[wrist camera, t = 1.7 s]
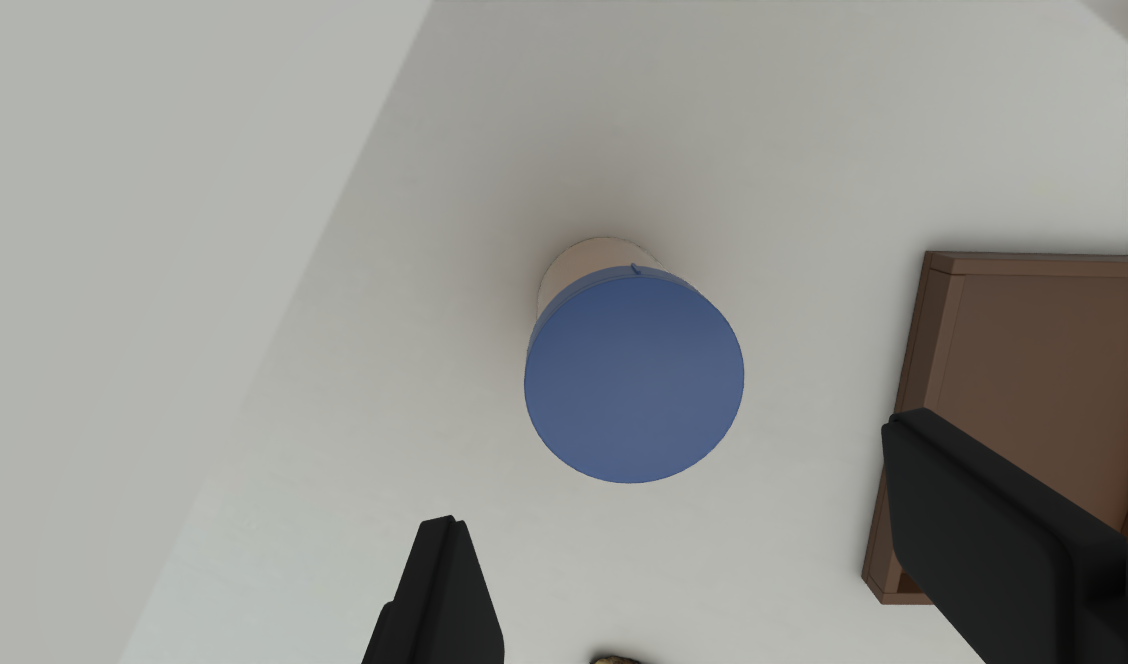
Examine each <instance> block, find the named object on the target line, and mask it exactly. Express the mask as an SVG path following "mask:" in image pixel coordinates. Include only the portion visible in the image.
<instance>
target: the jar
mask: <svg viewBox="0 0 1128 664" xmlns="http://www.w3.org/2000/svg"><path fill="white" fill-rule="evenodd" d="M631 263H635V264H636V266H646V267H650V268H655V269H660V270H662V271H665V272H668V271H667V270H666V269H665V268H664V267H663V266H662V265H661V264H659V263H658V262H657V261H656V260H655V259H654V258H653V257H652V256H651V255H650V254H649V253H648V252H647V251H645V250H644V249H643V248H641V247H640V246H638V245H636V244H634V243H632V242H629V241H626V240H623V239H618V238H610V237H601V238H593V239H588V240H585V241H582V242H580V243H577V244H575V245H573V246H571V247H570V248H568V249H567V250H565V251H564V252H563V253H562V254H560V255H559V256H558V257H557V258H556V259H555V260H554V261H553V263H552V264H551V265H550V267H549V268H548V270H547V271H546V273H545V275H544V277H543V280H542V283H541V285H540V290H539V295H538V307H537V320H538V319H539V317H540V315H541V313H542V312H543V311H544V309H545V308H546V306H547V305H548V304H549V303H550V302H551V300H552V299H553V298H554V297H555V296H556V295H557V294H558V293H559V292H561V291H562V290H563V289H564V288H565V287H567V286H568V285H570V284H571V283H573V282H574V281H576V280H578V279H579V278H581V277H583V276H585V275H588V274H590V273H592V272H595V271H598V270H602V269H605V268H610V267H616V266H630V265H631ZM668 273H669V272H668ZM536 322H537V321H536Z"/></svg>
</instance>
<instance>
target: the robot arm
mask: <svg viewBox="0 0 1128 664" xmlns="http://www.w3.org/2000/svg"><path fill="white" fill-rule="evenodd" d="M881 435H882V444H883V454H884V464H885V474H886V484H887V493H888V503H889V513H890V523H891V532H892V542H893V549H894V552H895V555H896V558H897V560H898V562H899V564H900V565H901V567H902V568H903V569H904V570H905V571H906V573H907V574H908V575H909V576H910V577H911V578H912V579H913V581H914V582H915V583H916V584H917V585H918V586H919V588H920V589H921V590H922V591H923V592H924V593H925V594H926V596H927V597H928V598H929V599H930V600H931V601H932V602H933V604H934V605H935V606H936V607H937V608H938V609H939V610H940V612H941V613H942V614H943V615H944V616H945V617H946V618H947V620H948V621H949V622H950V623H951V624H952V625H953V626H954V628H955V629H956V630H957V631H958V632H959V633H960V634H961V636H962V637H963V638H964V639H965V640H966V641H967V643H968V644H969V645H970V646H971V647H972V648H973V649H974V651H975V652H976V653H977V654H978V655H979V656H980V657H981V659H982V660H983V661H984V662H985V663H986V664H1128V543H1127V537H1126V536H1124V535H1123V534H1121V533H1119V532H1118V531H1116V530H1115V529H1113V528H1112V527H1110V526H1109V525H1107V524H1106V523H1104V522H1102V521H1101V520H1099V519H1098V518H1096V517H1095V516H1093V515H1092V514H1090V513H1089V512H1087V511H1086V510H1084V509H1082V508H1081V507H1079V506H1078V505H1076V504H1075V503H1073V502H1072V501H1070V500H1069V499H1067V498H1065V497H1064V496H1062V495H1061V494H1059V493H1058V492H1056V491H1055V490H1053V489H1052V488H1050V487H1048V486H1047V485H1045V484H1044V483H1042V482H1041V481H1039V480H1038V479H1036V478H1035V477H1033V476H1032V475H1030V474H1028V473H1027V472H1025V471H1024V470H1022V469H1021V468H1019V467H1018V466H1016V465H1015V464H1013V463H1011V462H1010V461H1008V460H1007V459H1005V458H1004V457H1002V456H1001V455H999V454H998V453H996V452H994V451H993V450H991V449H990V448H988V447H987V446H985V445H984V444H982V443H981V442H979V441H978V440H976V439H974V438H973V437H971V436H970V435H968V434H967V433H965V432H964V431H962V430H961V429H959V428H957V427H956V426H954V425H953V424H951V423H950V422H948V421H947V420H945V419H944V418H942V417H940V416H939V415H937V414H936V413H934V412H933V411H931V410H930V409H928V408H925V407H921V408H917V409H912V410H908V411H904V412H899V413H895V414H892V415H891V416H890V418H889V423H887V424H884V425H883V426H882V429H881ZM504 653H505V650H504V640H503V635H502V631H501V628H500V625H499V622H498V619H497V616H496V613H495V610H494V607H493V604H492V601H491V598H490V595H489V592H488V589H487V586H486V583H485V580H484V577H483V574H482V571H481V568H480V565H479V562H478V559H477V556H476V553H475V549H474V546H473V543H472V540H471V537H470V534H469V531H468V528H467V526H466V523H465V522H464V521H463V520H461V521H457V522H456V521H455V519H454V517H453V516H452V515H448V516H444V517H440V518H435V519H431V520H426V521H423V522H421V524H420V526H419V529H418V532H417V535H416V538H415V541H414V543H413V546H412V549H411V552H410V555H409V558H408V560H407V563H406V566H405V569H404V572H403V574H402V577H401V580H400V583H399V586H398V589H397V591H396V594H395V597H394V600H393V601H391V602H388V603H387V604H385V605H384V607H383V609H382V610H381V612H380V615H379V618H378V621H377V623H376V626H375V629H374V631H373V634H372V637H371V639H370V642H369V645H368V647H367V650H366V653H365V655H364V658H363V661H362V663H361V664H504Z"/></svg>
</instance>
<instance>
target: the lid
mask: <svg viewBox="0 0 1128 664" xmlns="http://www.w3.org/2000/svg"><path fill="white" fill-rule="evenodd" d="M743 388H744V364H743V358H742V353H741V349H740V346H739V343H738V341H737V338H736V336H735V333H734V332H733V330H732V328H731V327H730V325H729V323H728V322H727V320H726V319H725V318H724V316H723V315H722V314H721V313H720V311H719V310H718V309H717V308H715V307H714V306H713V305H712V304H711V303H710V302H709V301H708V300H707V299H706V298H705V297H704V296H703V295H702V294H700V293H699V292H698V291H697V290H696V289H695V288H694V287H692V286H691V285H690V284H688V283H687V282H685V281H684V280H682V279H680V278H679V277H677V276H675V275H673V274H670V273H668V272H665V271H662V270H660V269H655V268H650V267H646V266H636V264H635V263H631V265H630V266H616V267H610V268H605V269H602V270H598V271H595V272H592V273H590V274H588V275H585V276H583V277H581V278H579V279H578V280H576V281H574V282H573V283H571V284H570V285H568V286H567V287H565V288H564V289H563V290H562V291H561V292H559V293H558V294H557V295H556V296H555V297H554V298H553V299H552V300H551V302H550V303H549V304H548V305H547V306H546V308H545V309H544V311H543V312H542V313H541V315H540V317H539V319H538V320H537V322H536V324H535V326H534V329H533V331H532V334H531V337H530V340H529V345H528V350H527V357H526V367H525V378H524V391H525V400H526V405H527V410H528V413H529V416H530V418H531V421H532V424H533V426H534V427H535V429H536V431H537V433H538V435H539V436H540V438H541V439H542V441H543V442H544V443H545V445H546V446H547V447H548V448H549V449H550V450H551V451H552V452H553V453H554V454H555V455H556V456H557V457H558V458H559V459H561V460H562V461H563V462H564V463H566V464H567V465H569V466H570V467H572V468H574V469H575V470H577V471H579V472H581V473H584V474H586V475H588V476H591V477H594V478H597V479H600V480H604V481H610V482H615V483H644V482H650V481H656V480H659V479H663V478H666V477H670V476H672V475H674V474H677V473H679V472H682V471H683V470H685V469H687V468H689V467H690V466H692V465H694V464H695V463H697V462H698V461H699V460H701V459H702V458H704V457H705V456H706V455H707V454H708V453H709V452H710V451H711V450H712V449H714V448H715V447H716V445H717V444H718V443H719V442H720V441H721V439H722V438H723V437H724V436H725V434H726V432H727V431H728V429H729V428H730V426H731V425H732V422H733V420H734V418H735V416H736V414H737V412H738V409H739V406H740V403H741V399H742V393H743Z"/></svg>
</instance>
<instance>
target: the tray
mask: <svg viewBox="0 0 1128 664" xmlns="http://www.w3.org/2000/svg"><path fill="white" fill-rule="evenodd" d="M921 407H925V408H928V409H930V410H931V411H933V412H934V413H936V414H937V415H939V416H940V417H942V418H944V419H945V420H947V421H948V422H950V423H951V424H953V425H954V426H956V427H957V428H959V429H961V430H962V431H964V432H965V433H967V434H968V435H970V436H971V437H973V438H974V439H976V440H978V441H979V442H981V443H982V444H984V445H985V446H987V447H988V448H990V449H991V450H993V451H994V452H996V453H998V454H999V455H1001V456H1002V457H1004V458H1005V459H1007V460H1008V461H1010V462H1011V463H1013V464H1015V465H1016V466H1018V467H1019V468H1021V469H1022V470H1024V471H1025V472H1027V473H1028V474H1030V475H1032V476H1033V477H1035V478H1036V479H1038V480H1039V481H1041V482H1042V483H1044V484H1045V485H1047V486H1048V487H1050V488H1052V489H1053V490H1055V491H1056V492H1058V493H1059V494H1061V495H1062V496H1064V497H1065V498H1067V499H1069V500H1070V501H1072V502H1073V503H1075V504H1076V505H1078V506H1079V507H1081V508H1082V509H1084V510H1086V511H1087V512H1089V513H1090V514H1092V515H1093V516H1095V517H1096V518H1098V519H1099V520H1101V521H1102V522H1104V523H1106V524H1107V525H1109V526H1110V527H1112V528H1113V529H1115V530H1116V531H1118V532H1119V533H1121V534H1123V535H1124V536H1126V537H1127V543H1128V255H1088V254H1042V253H996V252H950V251H926V254H925V259H924V264H923V269H922V274H921V279H920V284H919V289H918V294H917V299H916V304H915V309H914V315H913V320H912V325H911V330H910V335H909V340H908V345H907V350H906V355H905V360H904V365H903V370H902V375H901V380H900V385H899V391H898V396H897V401H896V406H895V411H894V414H895V413H899V412H904V411H908V410H912V409H917V408H921ZM862 579H863V581H864V582H865V583H866V584H867V586H868V587H869V588H870V590H871V591H872V593H873V594H874V595H875V597H876V598H877V599H878V601H879V602H880V603H881V604H883V605H934V604H933V602H932V601H931V600H930V599H929V598H928V597H927V596H926V594H925V593H924V592H923V591H922V590H921V589H920V588H919V586H918V585H917V584H916V583H915V582H914V581H913V579H912V578H911V577H910V576H909V575H908V574H907V573H906V571H905V570H904V569H903V568H902V567H901V565H900V564H899V562H898V560H897V558H896V555H895V552H894V549H893V542H892V532H891V523H890V513H889V503H888V493H887V484H886V474H885V464H884V467H883V472H882V477H881V482H880V487H879V492H878V497H877V502H876V507H875V512H874V517H873V522H872V527H871V532H870V537H869V543H868V548H867V553H866V558H865V563H864V568H863V573H862Z"/></svg>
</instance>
